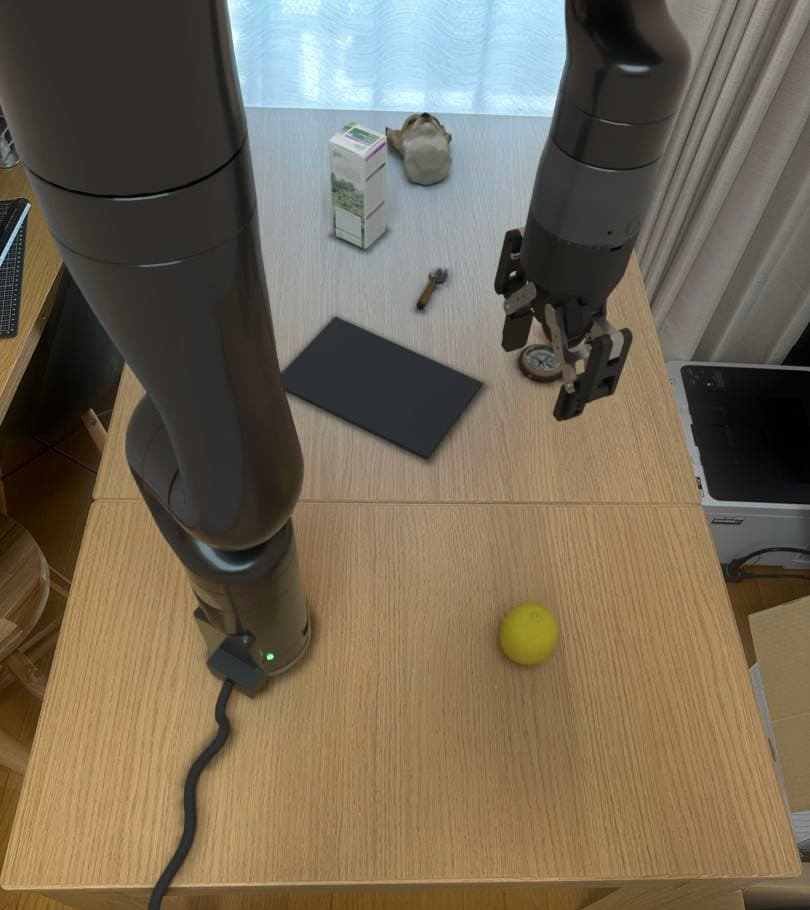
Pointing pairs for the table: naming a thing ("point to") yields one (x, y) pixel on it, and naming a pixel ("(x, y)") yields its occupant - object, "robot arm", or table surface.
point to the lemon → (529, 634)
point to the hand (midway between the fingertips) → (538, 380)
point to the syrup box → (358, 184)
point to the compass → (543, 360)
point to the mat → (380, 386)
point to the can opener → (431, 287)
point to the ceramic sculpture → (422, 148)
